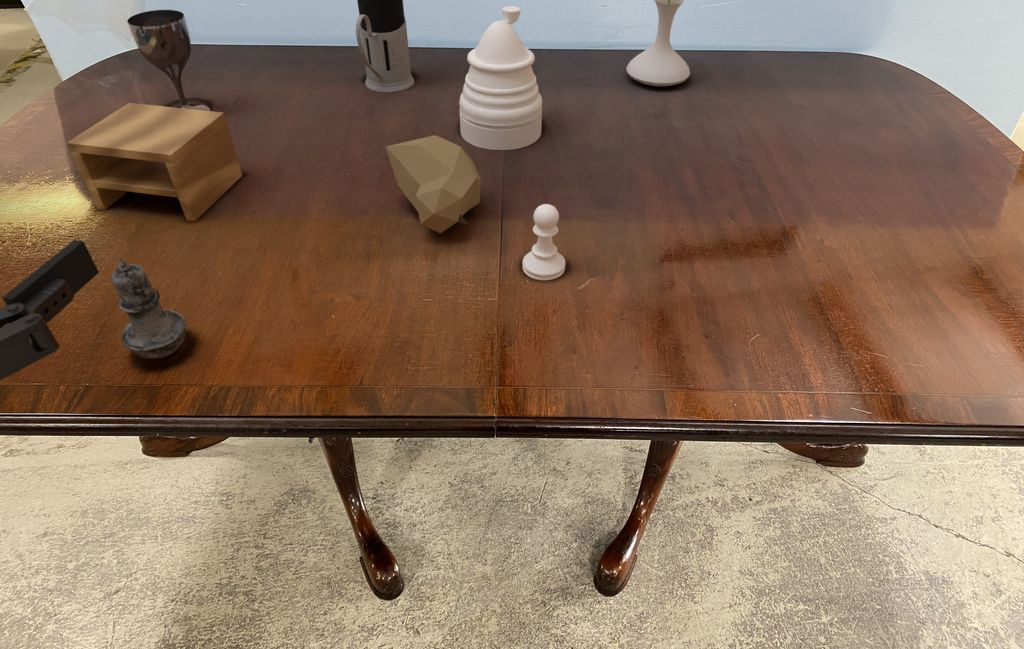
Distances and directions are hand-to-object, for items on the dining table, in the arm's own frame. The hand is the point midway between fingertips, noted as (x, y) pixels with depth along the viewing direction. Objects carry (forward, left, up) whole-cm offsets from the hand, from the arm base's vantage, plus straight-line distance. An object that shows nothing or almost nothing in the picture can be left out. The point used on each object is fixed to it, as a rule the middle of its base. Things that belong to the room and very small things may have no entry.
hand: (4, 244), depth 48 cm
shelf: (-17, +37, -20) cm, 45 cm away
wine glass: (-30, +61, -20) cm, 71 cm away
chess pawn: (+35, +31, -20) cm, 51 cm away
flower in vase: (+45, +92, -20) cm, 104 cm away
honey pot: (+22, +66, -20) cm, 72 cm away
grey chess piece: (0, +9, -20) cm, 22 cm away
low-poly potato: (+20, +39, -20) cm, 48 cm away
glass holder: (-2, +78, -20) cm, 80 cm away
